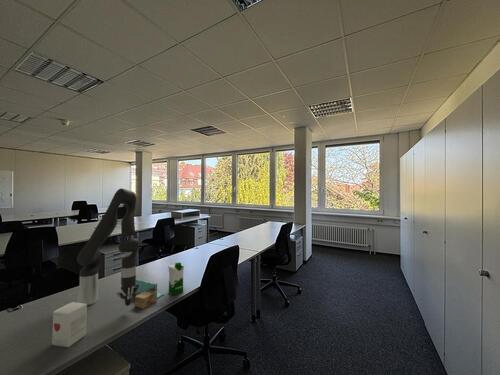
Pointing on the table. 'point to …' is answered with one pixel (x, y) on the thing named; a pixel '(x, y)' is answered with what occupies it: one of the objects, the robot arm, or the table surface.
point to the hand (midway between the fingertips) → (128, 305)
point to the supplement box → (69, 324)
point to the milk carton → (176, 278)
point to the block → (145, 298)
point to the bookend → (146, 287)
